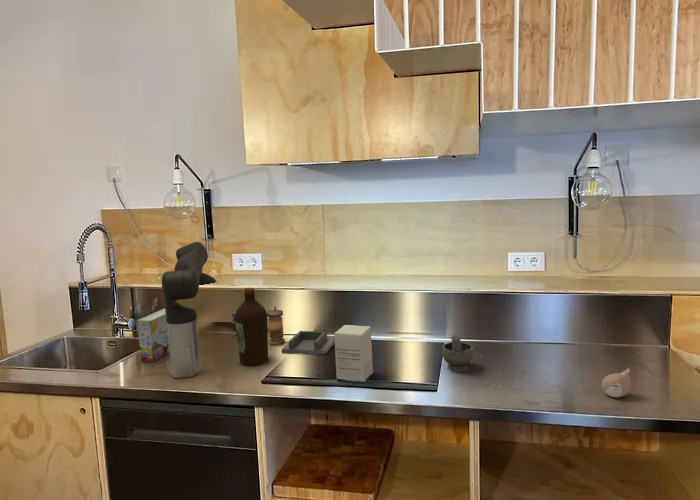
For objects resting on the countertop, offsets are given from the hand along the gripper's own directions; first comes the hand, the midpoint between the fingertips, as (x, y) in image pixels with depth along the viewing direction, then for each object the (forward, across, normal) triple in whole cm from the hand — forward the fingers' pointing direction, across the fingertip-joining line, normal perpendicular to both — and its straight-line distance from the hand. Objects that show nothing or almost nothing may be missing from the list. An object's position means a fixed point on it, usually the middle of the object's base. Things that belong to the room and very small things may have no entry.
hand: (260, 318), depth 198 cm
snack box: (-11, -34, +8) cm, 37 cm away
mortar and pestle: (+76, +24, +7) cm, 80 cm away
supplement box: (+58, -2, +7) cm, 58 cm away
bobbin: (+11, 0, +7) cm, 13 cm away
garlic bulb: (+118, +36, +6) cm, 123 cm away
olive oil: (+22, -16, +7) cm, 28 cm away
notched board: (+25, +5, +7) cm, 26 cm away
